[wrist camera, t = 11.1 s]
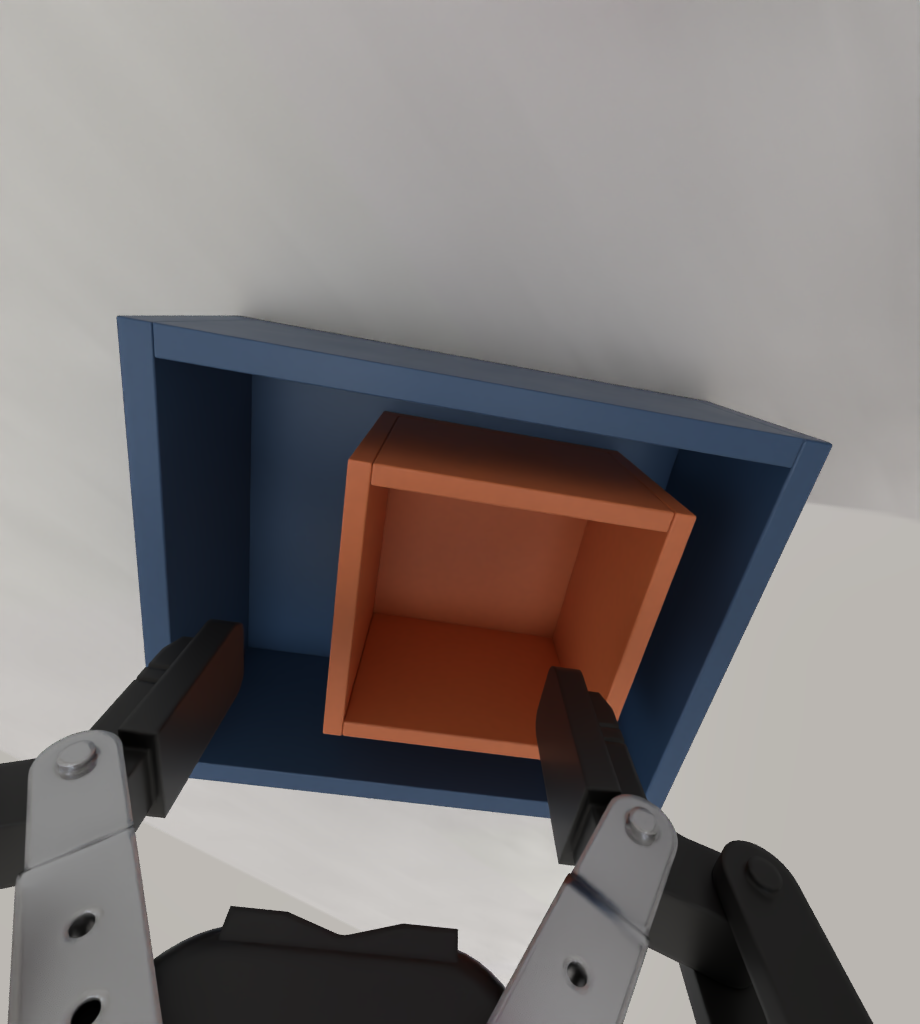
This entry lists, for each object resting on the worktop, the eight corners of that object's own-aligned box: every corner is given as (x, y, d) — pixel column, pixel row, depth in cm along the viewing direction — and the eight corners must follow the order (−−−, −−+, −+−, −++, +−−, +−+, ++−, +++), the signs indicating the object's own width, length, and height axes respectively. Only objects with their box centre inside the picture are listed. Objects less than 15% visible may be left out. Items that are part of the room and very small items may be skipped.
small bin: (618, 451, 18) (698, 516, 12) (559, 643, 22) (600, 768, 16) (383, 410, 18) (347, 459, 12) (359, 614, 21) (322, 734, 15)
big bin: (708, 401, 18) (834, 443, 12) (601, 697, 24) (652, 830, 18) (236, 315, 17) (115, 315, 11) (235, 649, 22) (154, 774, 16)
